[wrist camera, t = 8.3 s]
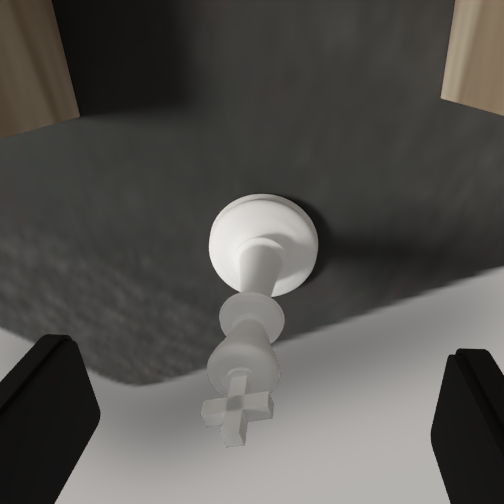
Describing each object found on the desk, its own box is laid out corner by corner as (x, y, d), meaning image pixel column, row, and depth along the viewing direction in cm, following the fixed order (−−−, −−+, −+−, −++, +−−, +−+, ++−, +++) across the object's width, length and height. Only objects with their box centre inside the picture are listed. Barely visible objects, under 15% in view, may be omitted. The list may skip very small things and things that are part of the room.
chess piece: (328, 279, 18) (363, 497, 9) (229, 299, 19) (174, 512, 10) (303, 180, 16) (316, 335, 7) (194, 209, 17) (86, 376, 8)
